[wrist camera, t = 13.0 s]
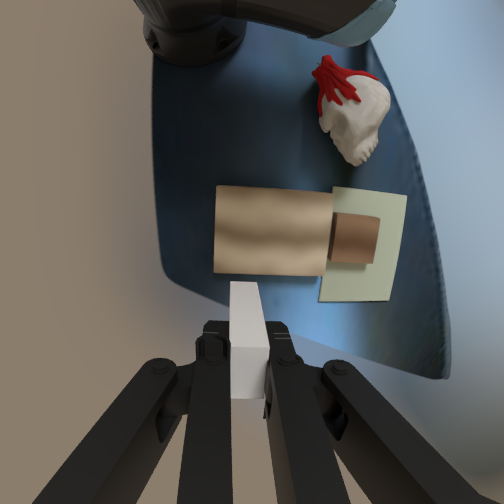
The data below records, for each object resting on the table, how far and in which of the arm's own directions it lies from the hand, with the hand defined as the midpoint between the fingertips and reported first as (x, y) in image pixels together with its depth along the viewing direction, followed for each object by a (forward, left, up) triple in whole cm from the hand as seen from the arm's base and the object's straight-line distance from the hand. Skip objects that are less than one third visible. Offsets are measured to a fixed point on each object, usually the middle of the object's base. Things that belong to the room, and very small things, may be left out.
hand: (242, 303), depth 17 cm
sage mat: (+3, +20, -26) cm, 33 cm away
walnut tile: (+1, +17, -26) cm, 31 cm away
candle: (-18, +14, -27) cm, 35 cm away
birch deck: (+1, +5, -26) cm, 27 cm away
